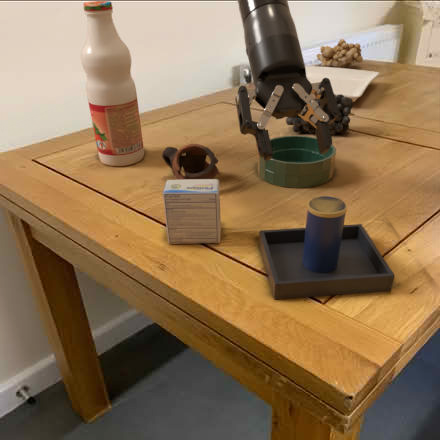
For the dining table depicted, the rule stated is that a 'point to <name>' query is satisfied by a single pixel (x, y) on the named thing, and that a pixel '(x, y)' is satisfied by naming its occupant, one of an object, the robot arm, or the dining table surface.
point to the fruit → (336, 127)
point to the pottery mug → (191, 161)
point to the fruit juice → (111, 89)
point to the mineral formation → (340, 55)
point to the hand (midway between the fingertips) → (297, 154)
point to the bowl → (297, 162)
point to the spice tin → (323, 233)
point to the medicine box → (192, 211)
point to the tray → (331, 281)
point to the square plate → (342, 80)
